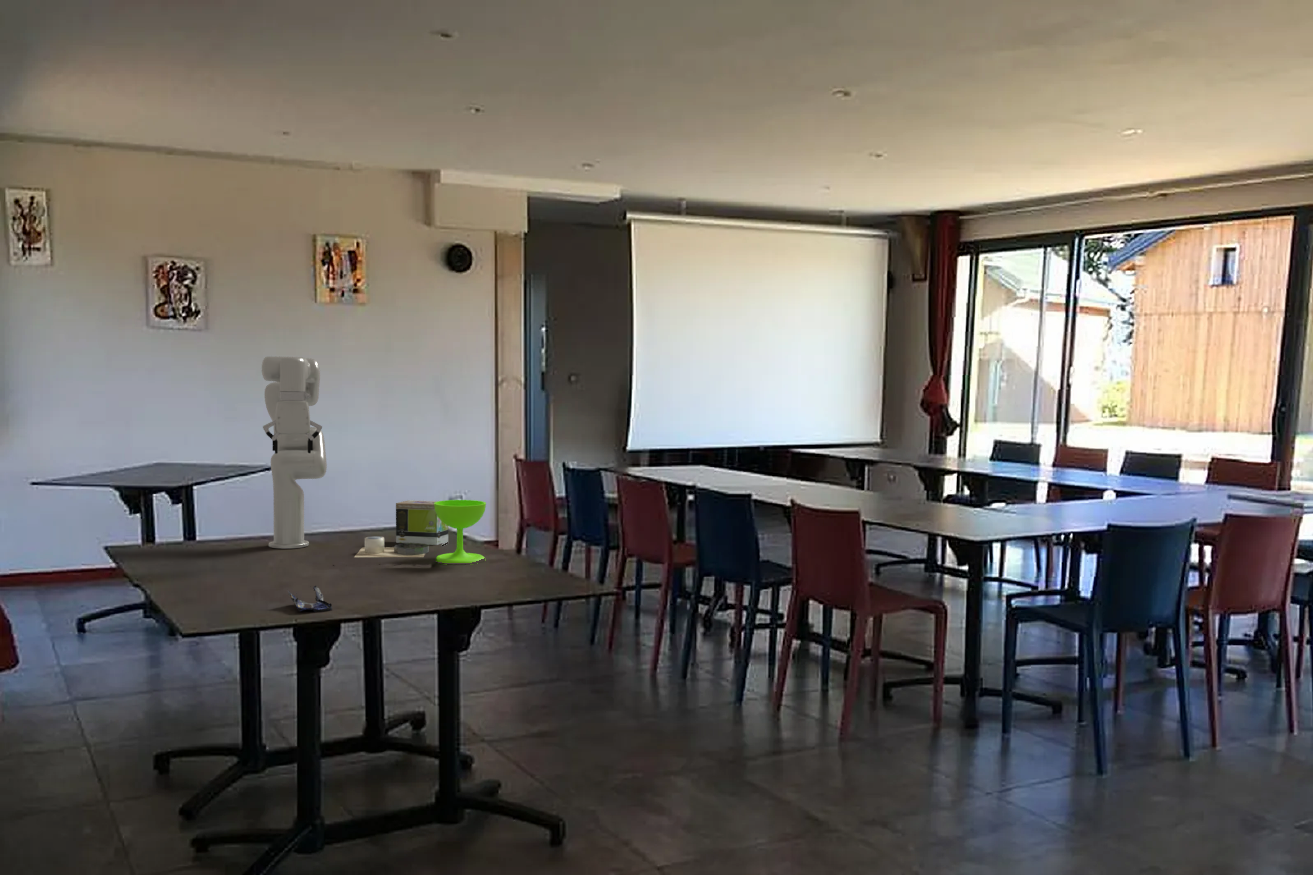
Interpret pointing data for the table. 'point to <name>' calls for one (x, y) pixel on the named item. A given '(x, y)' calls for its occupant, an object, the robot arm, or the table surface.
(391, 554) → the board
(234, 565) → the table surface
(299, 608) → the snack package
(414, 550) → the grey faceted ring
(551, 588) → the table surface
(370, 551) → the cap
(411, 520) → the tea box
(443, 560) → the wineglass
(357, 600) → the table surface
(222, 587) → the table surface
